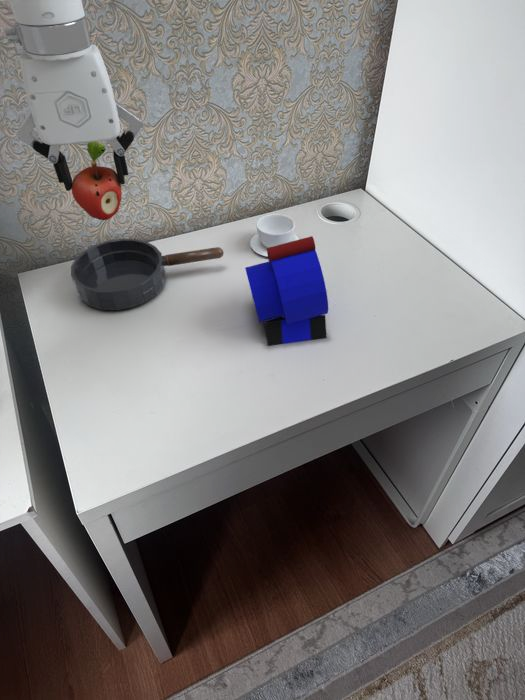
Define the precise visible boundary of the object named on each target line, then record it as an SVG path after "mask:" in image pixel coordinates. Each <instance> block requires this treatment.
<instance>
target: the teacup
mask: <svg viewBox="0 0 525 700" xmlns="http://www.w3.org/2000/svg"><path fill="white" fill-rule="evenodd" d="M255 225H256V232H257V233H255V234H254V235H252V237H251V238H250V242H249V246H250V248H251V249H252V250H253V251H254V252H255V253H256V254H258V255H261V256H263V257H267V258H268V254H267V248H269V247H273V246H277V245H280V244H284V243H288V242H292V241H296V240H299V239H300V238H299V236H298V235H297V234H295V228H296V222H295V221H294V219H293V218H292V217H290V216H288V215H285V214H282V213H270V214H266V215H263V216H261V217H260V218H258V219H257V221H256V224H255Z"/></svg>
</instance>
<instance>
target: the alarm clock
mask: <svg viewBox="0 0 525 700" xmlns="http://www.w3.org/2000/svg"><path fill="white" fill-rule="evenodd" d="M315 242H316V241H315V239H314V237H313V235H311V236H307V237H303V238H299V240H296V241H292V242H288V243H284V244H280V245H277V246H273V247H269V248H267V254H268V257H267V260H268V261H265V262H261V263H257V264H254V265H251V266H246V267H244V269H245V274H246V277H247V281H248V285H249V289H250V291H251V296H252V300H253V304H254V307H255V308H254V309H255V311H256V315H257V318H258V322H259V323H263V327H264V332H265V337H266V338H265V339H266V342H267V343H266V344H267V347H269V346H270V347H271V346H276V345H284V344H285V345H286V344H292V343H299V342H306V341H315V340H320V339H327V323H326V322H327V321H326V315H327V314H329V300H328V293H327V292H328V291H327V287H326V282H325V278H324V274H323V270H322V265H321V262H320V259H319V256H318V254H317V250H316V249H317V248H316V243H315ZM278 318H283V319H281V320H274V319H278ZM271 320H274V321H271ZM267 321H268V322H267Z"/></svg>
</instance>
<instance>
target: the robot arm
mask: <svg viewBox="0 0 525 700" xmlns="http://www.w3.org/2000/svg"><path fill="white" fill-rule="evenodd" d="M0 2H3V3H9V5H10V8H11V11H12V14H13V17H14V20H15V23H14V24H13V25H14V26H11V27H5V28H4V32H5V33H4V34H5V36H6V40H7V41H8V43H16V44H19V46H21V47H22V50H23V51H22V52H21V53H20V54H19V63H20V70H21V77H22V81H23V85H24V90H25V94H26V97H27V101H28V106H29V108H30V111H29V113H28V114H27V116H26V117H25V119H24V120H23V121H22V122H21V124H20V126H19V127H18V128H17V131H16V137H17V139H19V140H20V141H22V142H23V143H25V144H26V145H27V146H29V147H31V148H32V149H33V150H34V151H35V152H37V153H38V154H39V155H41V156H43V157H45V158H46V159H47V160H48V162H49V163H50V164H53V168H54V171H55V174H56V177H57V180H58V183H59V184H61V183H63V185H64V188H65V191H66V192H67V191H69V192H70V191H71V190H72V182H73V178H72V175H71V172H70V168H69V164H68V162H67V159H66V156H65V155H64V153H62V151H61V146H68V145H77V144H78V145H80V144H88V143H90V142H99V143H100V142H107V143H108V145H109V146H110V147H111V148H112V154H113V162H114V166H115V170H116V171H115V172H116V173H117V175H118V179H119V183H120V184H121V186H122V185H125V184H126V183H125V182H126V180H125V176H129V169H128V165H127V160H126V152H127V150H128V149H129V147H130V146H131V145H132V143H133V142H134V140H135V138H136V136H138V133H139V132H140V130H141V128H142V127H143V119H142V118H141V117H140V116H139V115H138V114H136V113H135V112H133V111H132V110H130V109H129V108H127V107H126V106H124V104H122V103H120V102H119V101H117V100H116V97H115V94H114V90H113V87H112V83H111V80H110V76H109V73H108V70H107V67H106V64H105V61H104V59H103V57H102V54H101V52H100V49H99V47H98V46H97V45H95V44H93V43H92V39H91V35H90V31H89V26H88V22H87V18H86V14H85V10H84V5H83V1H82V0H0ZM120 119H121V120H123V121H124V122H125V123H127V124H128V125H127V127H126V129H125V130H124V131H123V133H122V134H121V123H120ZM34 129H35V130H36V132H37V135H38V136H36V134H35V133H33V130H34ZM120 134H121V135H120Z"/></svg>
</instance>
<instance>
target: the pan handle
mask: <svg viewBox="0 0 525 700" xmlns="http://www.w3.org/2000/svg"><path fill="white" fill-rule="evenodd" d="M223 256H224V250H223V249H222V248H221V247H219V246H216V247H209V248H202V249H196V250H190V251H182V252H176V253H170V254H169V253H168V254H164V255H162V260H163V265H164V267H172V266H178V265H185V264H190V263H192V264H193V263H197V262H204V261H211V260H218V259H221V258H222V257H223Z"/></svg>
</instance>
